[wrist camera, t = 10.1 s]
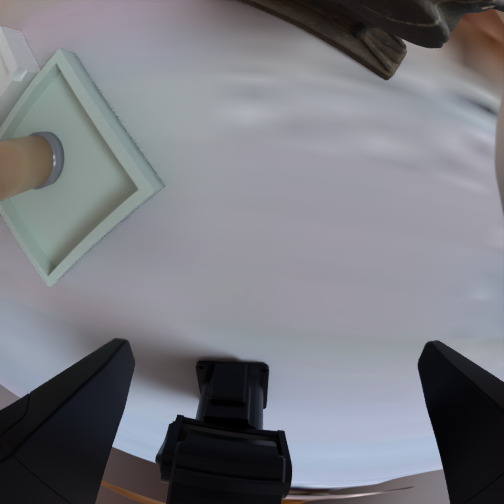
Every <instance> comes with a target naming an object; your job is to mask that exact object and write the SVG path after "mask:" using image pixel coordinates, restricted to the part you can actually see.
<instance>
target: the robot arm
mask: <svg viewBox="0 0 504 504" xmlns="http://www.w3.org/2000/svg"><path fill="white" fill-rule="evenodd" d="M134 367H135V360H134V357H133V353H132V350H131V347H130V344H129V342H128V341H127V340H125V339H119V338H115V339H113V340H111V341H110V342H108V343H107V344H105V345H103V346H102V347H100V348H99V349H97V350H96V351H94V352H92V353H91V354H89V355H88V356H86V357H85V358H83V359H82V360H80V361H78V362H77V363H75V364H74V365H72V366H71V367H69V368H67V369H66V370H64V371H63V372H61V373H60V374H58V375H56V376H55V377H53V378H52V379H50V380H49V381H47V382H46V383H44V384H42V385H41V386H39V387H38V388H36V389H35V390H33V391H31V392H30V394H27V395H25V396H24V397H22V398H20V399H19V400H17V401H16V402H14V403H12V404H11V405H9V406H7V407H5V408H3V409H2V410H0V504H95V502H96V498H97V495H98V491H99V487H100V484H101V480H102V477H103V474H104V470H105V467H106V464H107V460H108V457H109V454H110V451H111V448H112V445H113V442H114V439H115V436H116V433H117V430H118V427H119V424H120V421H121V418H122V415H123V412H124V409H125V405H126V401H127V396H128V392H129V388H130V383H131V379H132V375H133V371H134ZM196 371H197V377H198V383H199V389H200V394H201V396H200V400H199V405H198V410H197V415H196V419H192V418H187V417H184V416H183V415H177V418H176V420H175V421H173V423H171V424H169V427H168V431H167V434H166V437H165V440H164V442H163V444H162V446H161V448H160V450H159V452H158V453H157V455H156V459H155V462H156V464H157V465H158V466H159V468H160V474H161V482H162V483H166V484H169V488H168V495H167V502H166V504H281V500H282V499H284V498H286V496H287V495H288V492H289V490H290V486H291V480H292V463H291V459H290V454H289V450H288V445H287V441H286V436H285V432H284V431H282V430H277V431H270V430H263V409H265V408H266V405H267V391H268V377H269V366H268V365H267V364H255V363H229V362H212V361H198V362H197V364H196ZM418 371H419V375H420V379H421V384H422V388H423V393H424V398H425V402H426V407H427V410H428V414H429V417H430V420H431V424H432V427H433V431H434V434H435V438H436V442H437V445H438V449H439V453H440V457H441V461H442V466H443V470H444V474H445V479H446V484H447V489H448V494H449V500H450V504H504V382H503V381H501V380H500V379H498V378H497V377H495V376H494V375H492V374H491V373H489V372H488V371H486V370H484V369H483V368H481V367H480V366H478V365H477V364H475V363H474V362H472V361H470V360H469V359H467V358H466V357H464V356H463V355H461V354H459V353H458V352H456V351H455V350H453V349H452V348H450V347H448V346H447V345H445V344H444V343H442V342H440V341H438V340H436V341H429V342H427V343H426V344H425V346H424V349H423V351H422V353H421V356H420V358H419V360H418Z"/></svg>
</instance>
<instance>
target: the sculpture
mask: <svg viewBox="0 0 504 504" xmlns="http://www.w3.org/2000/svg"><path fill="white" fill-rule="evenodd" d="M238 1H241V2H243V3H246V4H249V5H251V6H254V7H256V8H259V9H261V10H263V11H266V12H268V13H270V14H272V15H275V16H277V17H279V18H281V19H283V20H286V21H288V22H290V23H292V24H294V25H296V26H298V27H300V28H302V29H304V30H306V31H308V32H309V33H311V34H313V35H315V36H317V37H319V38H320V39H322V40H324V41H326V42H327V43H329V44H331V45H333V46H334V47H336V48H338V49H339V50H341V51H343V52H344V53H346V54H347V55H349V56H350V57H352V58H353V59H355V60H356V61H358V62H359V63H361V64H362V65H364V66H365V67H367V68H368V69H370V70H371V71H373V72H374V73H375V74H377V75H378V76H380V77H381V78H383V79H385V80H389V79H390V78H391V77H392V76H393V75H394V74H395V72H396V70H397V68H398V67H399V65H400V64H401V62H402V60H403V59H404V57H405V55H406V53H407V51H406V45H405V44H404V42H403V41H402V39H404V40H406V41H408V42H411V43H413V44H415V45H418V46H422V47H425V48H441V47H442V46H443V43H445V42H447V41H448V40H449V37H450V31H452V30H453V29H454V27H455V26H456V25H457V23H458V22H459V20H460V19H461V17H462V16H463V15H464V14H467V13H479V12H483V11H487V10H488V9H495V10H499V11H502V12H504V0H238ZM401 38H402V39H401Z"/></svg>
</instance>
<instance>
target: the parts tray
mask: <svg viewBox="0 0 504 504" xmlns="http://www.w3.org/2000/svg"><path fill="white" fill-rule="evenodd" d="M46 131H47V132H52V133H54V134H55V135H56V136H57V137H58V138H59V139H60V141H61V143H62V146H63V149H64V166H63V170H62V173H61V175H60V177H59V178H58V179H57V181H56V182H55V183H53V184H52V185H49V186H47V187H44V188H41V189H37V190H36V189H31V190H28V191H26V192H23V193H21V194H18V195H15V196H13V197H10V198H8V199H6V200H3V201H1V202H0V214H1V216H2V217H3V219H4V221H5V223H6V224H7V226H8V228H9V229H10V231H11V233H12V234H13V236H14V237H15V239H16V241H17V242H18V244H19V245H20V247H21V248H22V250H23V251H24V253H25V254H26V256H27V257H28V259H29V260H30V262H31V263H32V265H33V266H34V268H35V269H36V270H37V272H38V273H39V274H40V276H41V277H42V279H43V280H44V281H45V283H46V284H47V285H48V287H49V288H50V287H51V286H52V285H54V284H55V283H56V282H57V281H58V280H59V279H60V278H61V277H62V276H63V275H64V274H65V273H66V272H67V271H68V270H69V269H70V268H71V267H72V266H73V265H75V264H76V263H77V262H78V261H79V260H80V259H81V258H82V257H83V256H84V255H85V254H86V253H87V252H88V251H89V250H90V249H91V248H92V247H94V246H95V245H96V244H97V243H98V242H99V241H100V240H101V239H102V238H103V237H105V236H106V235H107V234H108V233H109V232H110V231H111V230H112V229H114V228H115V227H116V226H117V225H118V224H119V223H120V222H122V221H123V220H124V219H125V218H126V217H128V216H129V215H130V214H131V213H132V212H133V211H135V210H136V209H137V208H138V207H140V206H141V205H142V204H143V203H144V202H146V201H147V200H148V199H149V198H151V197H152V196H153V195H154V194H156V193H157V192H158V191H159V190H161V189H162V188H163V187H165V185H164V184H163V182H162V181H161V179H160V178H159V177H158V175H157V174H156V172H155V171H154V170H153V168H152V167H151V165H150V164H149V163H148V161H147V160H146V158H145V157H144V155H143V154H142V153H141V151H140V150H139V148H138V147H137V145H136V144H135V143H134V141H133V140H132V138H131V137H130V135H129V134H128V133H127V131H126V130H125V128H124V127H123V125H122V124H121V122H120V121H119V119H118V118H117V116H116V115H115V114H114V112H113V111H112V109H111V108H110V106H109V105H108V103H107V102H106V100H105V99H104V97H103V96H102V94H101V93H100V91H99V90H98V88H97V87H96V85H95V84H94V82H93V81H92V79H91V78H90V76H89V74H88V73H87V71H86V70H85V68H84V67H83V65H82V64H81V62H80V61H79V59H78V57H77V56H76V54H75V53H74V52H70V51H67V50H63V49H59V50H58V51H57V52H56V53H55V54H54V55H53V56H52V58H51V59H50V60H49V61H48V62H47V63H46V65H45V66H44V67H43V68H42V69H41V71H40V72H39V73H38V74H37V76H36V77H35V78H34V79H33V81H32V82H31V83H30V85H29V86H28V87H27V89H26V90H25V91H24V93H23V94H22V96H21V97H20V98H19V100H18V101H17V103H16V104H15V106H14V107H13V109H12V110H11V112H10V113H9V115H8V116H7V118H6V119H5V121H4V123H3V124H2V126H1V128H0V140H5V139H12V138H18V137H25V136H29V135H30V134H32V133H36V132H46Z"/></svg>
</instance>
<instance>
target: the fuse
mask: <svg viewBox="0 0 504 504" xmlns="http://www.w3.org/2000/svg"><path fill="white" fill-rule="evenodd" d="M63 166H64V149H63V146H62V143H61V141H60V139H59V138H58V137H57V136H56V135H55V134H54V133H52V132H47V131H46V132H36V133H32V134H30V135H29V136H25V137H18V138H12V139H5V140H0V202H1V201H3V200H6V199H8V198H10V197H13V196H15V195H18V194H21V193H23V192H26V191H28V190H31V189H36V190H37V189H41V188H44V187H47V186H49V185H52V184H53V183H55V182H56V181H57V179H58V178H59V177H60V175H61V173H62V170H63Z"/></svg>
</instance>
